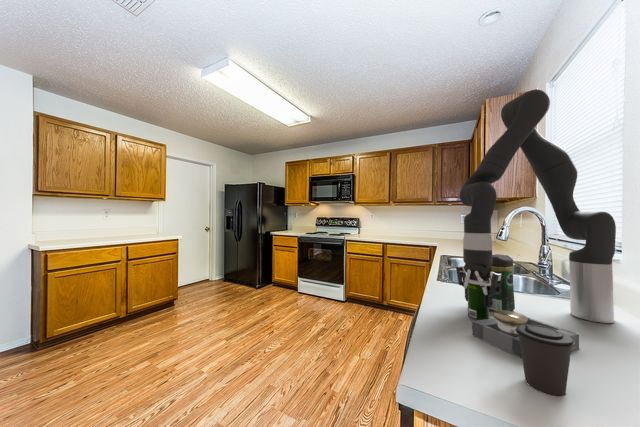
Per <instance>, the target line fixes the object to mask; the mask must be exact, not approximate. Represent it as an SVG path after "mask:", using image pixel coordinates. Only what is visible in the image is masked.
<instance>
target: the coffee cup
mask: <svg viewBox="0 0 640 427" xmlns="http://www.w3.org/2000/svg"><path fill="white" fill-rule="evenodd" d="M515 331H516V332H517V333H518V335H519V341H520V348H521V354H522V359H521V360H522V367H523V372H524V379H525V383H526V382H527V383H528V384H529V385H528V384H527V383H526V384H527V385H528V386H530V387H531V388H533V389H534V390H536V391H537V392H540V393H543V394H545V395H547V396H552V397H564V396H565V395H566V391H567V384H568V378H569V377H568V376H569V369H570V361H571V354H572V351H571V347H572V346H575V344H576V343H575V341H574V340H573V339H572V338H571V337H570V336H569V335H567V334H565V333H562V332H560V331H557V330H555V329H552V328H549V327H545V326H540V325H519V326H517V328H516V329H515Z"/></svg>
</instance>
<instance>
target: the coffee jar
mask: <svg viewBox="0 0 640 427" xmlns="http://www.w3.org/2000/svg"><path fill="white" fill-rule="evenodd" d="M491 269H492V271H493V272H495V273H497V274H502V275H503V279H502V284H501V289H500V293H499V294H493V302H492V303H493V305H492V306H491V307H490V308H489V312H493V313H494V311H496V310H506V311H512V312H514V310H516V307H515V305H516V304H515V288H514V260H513V258H512V257H511V256H509V255H507V254H499V253H497V254H496V253H495V254H492V265H491ZM490 280H491V281H492V279H491V276H490Z"/></svg>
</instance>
